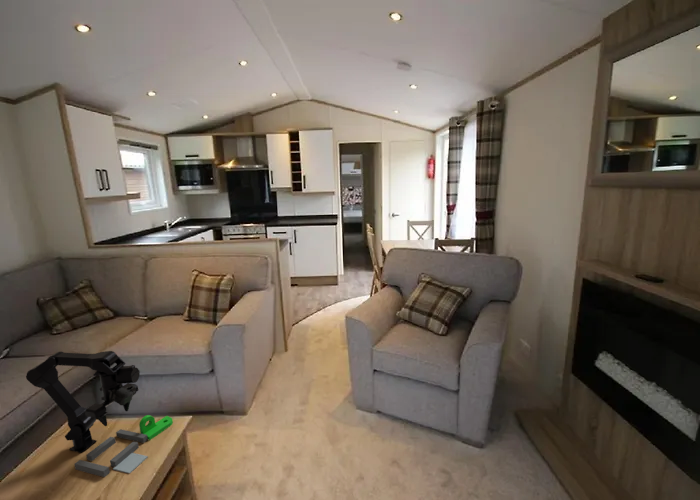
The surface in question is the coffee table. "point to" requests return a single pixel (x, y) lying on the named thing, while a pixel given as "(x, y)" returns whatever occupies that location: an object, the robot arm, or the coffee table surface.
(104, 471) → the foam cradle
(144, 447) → the coffee table surface
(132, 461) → the felt pad
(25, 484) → the coffee table surface
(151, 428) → the mechanical part
